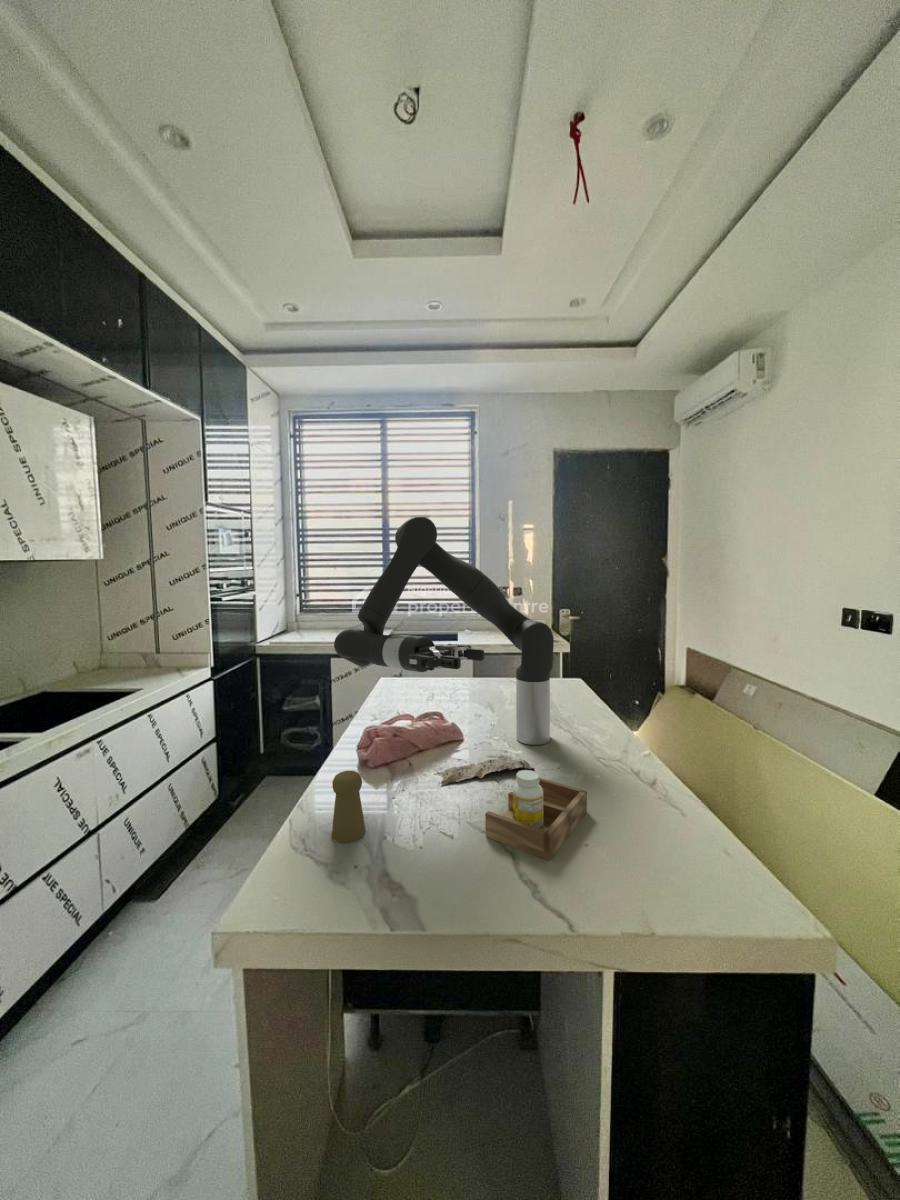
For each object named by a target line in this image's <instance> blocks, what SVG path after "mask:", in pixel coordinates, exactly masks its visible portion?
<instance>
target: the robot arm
mask: <svg viewBox="0 0 900 1200" xmlns="http://www.w3.org/2000/svg"><path fill="white" fill-rule="evenodd" d="M394 536H395V537H394V540H395V544H396V547H397V548H396V550H395V552H394V554H393V556H392V558H391V560H390V562H389V563H388V564H387V567H386V568H385V569H384V571H383V572H382V573H381V575H380V576H379V577H378V579H377V581H376V582H375V584H374V586H373V587H372V588H371V590H370V591H369V593H368V595H367V596H366V598H365V600H364V603H362V606H361V607H360V609H359V611H358V614H357V618H358V620H359V621H360V622H361V624H362V625H363V629H360V628H359V629H358V628H348V629H347V628H346V629H344V630H342V631H340V632H339V633H338V634H337V635H336V637H335V638H334V641H333V646H334V648H333V649H334V651H335V653H336V654H337V655H338V656H339V657H340V658H342V659H344V660H347V661H348V662H350V663H352V664H354V665H355V666H357V667H366V666H369V665H371V664H373V665H375V666H380V667H387V668H392V669H396V670H400V671H401V670H402V671H409V672H416V673H426V672H428V671H432V672H433V671H434V670H435V669H438V670H441V669H450V670H459V669H461V668H462V667H461V666H462V665H461V661H462V660H465V661H467V660H471V661H480V662H481V661H484V660H485V650H484V649H482V648H481V649H480V648H472V645H471V644H470V645H469V644H467V645H466V644H451V643H448V644H446V645H444V644H435V643H434V641H433V640H432V639H431V638H430V637H428V636H425V635H423V636H422V635H420V636H419V635H405V634H398V635H397V634H396V635H391V634H389V635H388V634H384V632H385V627H386V624H387V622H388V621H389V619H390V617H391V615H392V613H393V611H394V609H395V607H396V605H397V604H398V602H399V600H400V598H401V596H402V593H403V592H404V590H405V588H406V587H407V584H408V582H409V581H410V579H411V577H412V575H413V574H414V573H415V570H416V569H417V567H418V566H421V567H422V568H424V569H425V570H426V571H428V572H429V573H430V574H431V575H433V577H435V578H436V579H437V580H438V581H439V582H440V583H441V584H443V586H445V587H446V588H447V589H448V590H449V591H451V593H452V594H454V595H455V596H456V597H458V599H460V601H462V602H463V603H464V604H466V606H468V608H471V610H472V611H474V612H476V613H477V614H478V615H480V616H481V617H482V618H484V619H485V620H486V621H488V622H490V623H491V624H492V625H494V626H495V627H496V628H497V629H499V631H500V632H502V634H504V636H505V637H506V638H507V639H508V640H509V641H510V642H511V643H512V645H514V647H515V648H517V649H518V650H519V651H521V661H520V665H519V666H517V667H516V668H515V669H516V670H515V701H516V702H515V703H516V705H515V709H516V711H515V712H516V713H515V716H516V717H515V718H516V719H515V720H516V725H515V726H516V727H515V728H516V729H515V730H516V731H515V732H516V736H515V737H516V738H515V739H516V740H517V741H518V742H520V743H522V744H525V745H531V746H541V745H545V744H548V743H549V742H550V741H551V688H550V687H551V678H550V677H551V672H552V670H553V665H554V644H555V643H554V635H553V630H552V629H551V628H550V627H549V625H548V624H547V623H544V622H541V621H537V620H533V619H531V618H529V617H527V616H525V615H524V614H522V613H521V611H519V610H517V609H516V608H515V607H514V606H512V605H511V603H510V602H509V601H508V599H507V598H506V597H505V595H504V594H503V592H502V591H501V589H500V588H499V586H498V585H497V584H495V582H494V581H493V580H492V579H490V578H489V577H488V576H487V575H486V574H484V572H482V571H481V570H480V569H479V568H477V567H476V566H473V565H472V564H470V563H468V562H466V561H464V560H462V559H461V558H458V557H456V556H454V555H452V554H451V553H449V552H447V551H446V550H445V549H444V548H443V547H442V546H441V545H440V544H439V543H437V540H438V530H437V526H436V524H435V523H434V522H433V521H432V520H431V519H430V518H428V517H427V516H423V515H421V516H420V515H417V516H413V517H411V518H409V519H406V521H405V522H404V523H402V524H401V525H400V526H399V527H398V529H397V530H396V531H395V535H394Z"/></svg>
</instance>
